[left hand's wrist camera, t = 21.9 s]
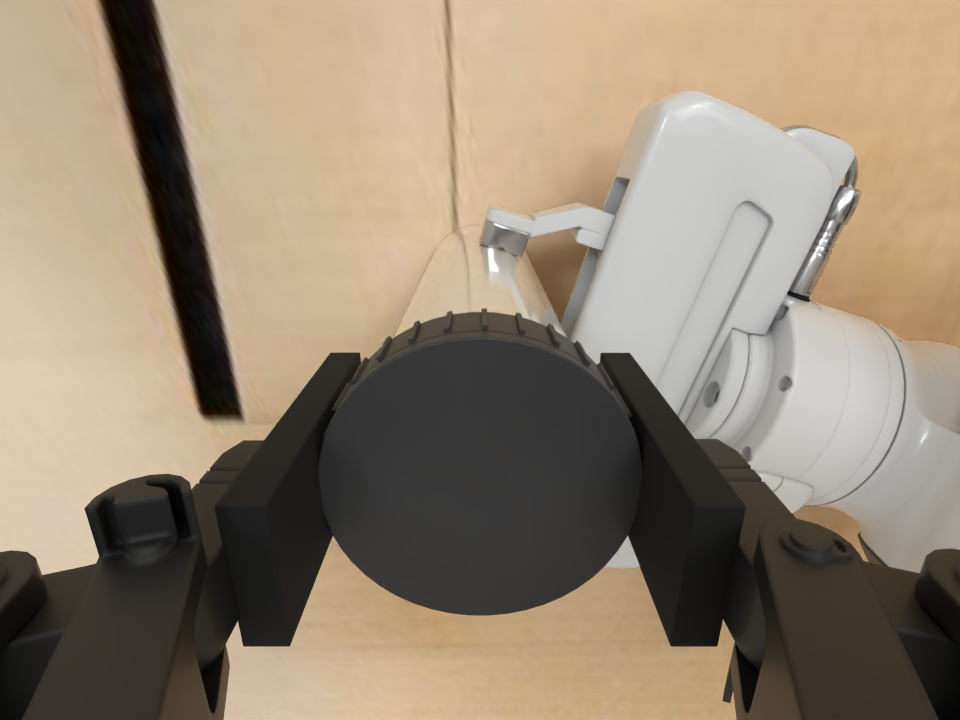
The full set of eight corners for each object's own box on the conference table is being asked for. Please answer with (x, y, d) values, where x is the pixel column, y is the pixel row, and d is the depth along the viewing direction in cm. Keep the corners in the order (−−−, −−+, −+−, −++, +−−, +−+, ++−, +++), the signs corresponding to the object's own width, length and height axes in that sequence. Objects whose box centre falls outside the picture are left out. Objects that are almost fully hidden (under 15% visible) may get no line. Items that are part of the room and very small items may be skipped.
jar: (506, 341, 30) (544, 601, 13) (413, 304, 29) (314, 525, 12) (549, 249, 28) (662, 402, 11) (451, 207, 28) (400, 297, 10)
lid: (441, 602, 14) (436, 661, 12) (274, 408, 12) (241, 448, 10) (674, 484, 12) (702, 533, 11) (530, 245, 10) (539, 262, 9)
